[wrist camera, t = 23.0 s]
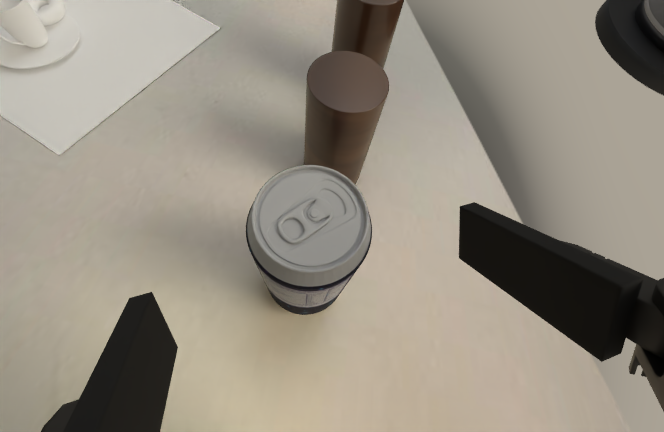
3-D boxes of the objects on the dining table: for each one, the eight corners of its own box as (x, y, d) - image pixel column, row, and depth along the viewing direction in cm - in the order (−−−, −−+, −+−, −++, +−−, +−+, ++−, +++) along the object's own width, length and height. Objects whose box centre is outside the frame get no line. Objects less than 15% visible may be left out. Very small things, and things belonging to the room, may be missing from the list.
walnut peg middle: (363, 152, 29) (394, 61, 20) (354, 199, 27) (383, 121, 18) (311, 139, 29) (317, 42, 20) (297, 185, 27) (297, 101, 18)
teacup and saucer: (51, -1, 33) (19, -46, 29) (108, 34, 32) (82, -9, 28) (-31, 46, 29) (-79, 2, 26) (29, 86, 28) (-12, 46, 25)
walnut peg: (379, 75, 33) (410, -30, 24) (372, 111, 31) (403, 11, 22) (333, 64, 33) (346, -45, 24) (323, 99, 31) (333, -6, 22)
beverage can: (357, 283, 24) (405, 227, 13) (297, 332, 22) (296, 314, 11) (312, 228, 26) (322, 136, 15) (252, 270, 24) (213, 201, 13)
